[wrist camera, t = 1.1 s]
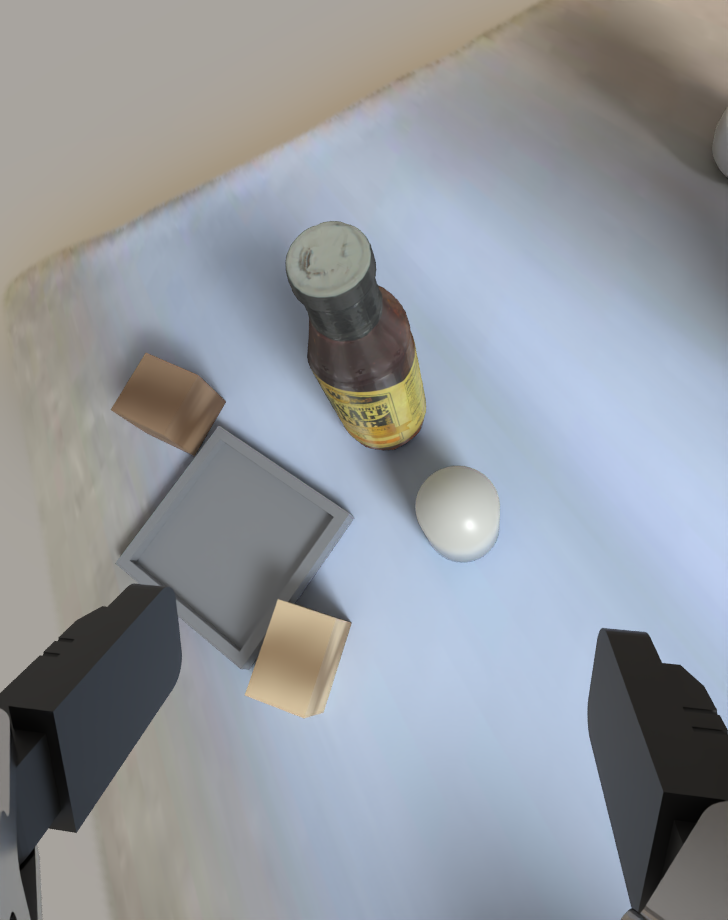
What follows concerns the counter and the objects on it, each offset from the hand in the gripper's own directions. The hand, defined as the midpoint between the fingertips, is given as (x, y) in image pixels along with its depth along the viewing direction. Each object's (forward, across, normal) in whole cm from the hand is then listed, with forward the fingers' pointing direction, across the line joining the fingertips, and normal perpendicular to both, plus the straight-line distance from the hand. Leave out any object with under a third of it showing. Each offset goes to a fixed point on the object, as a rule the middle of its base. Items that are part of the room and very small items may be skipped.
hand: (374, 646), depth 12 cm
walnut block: (+36, +20, +6) cm, 42 cm away
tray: (+29, +14, +14) cm, 35 cm away
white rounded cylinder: (+30, -2, +11) cm, 32 cm away
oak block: (+25, +8, +19) cm, 32 cm away
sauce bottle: (+35, +4, +5) cm, 35 cm away
